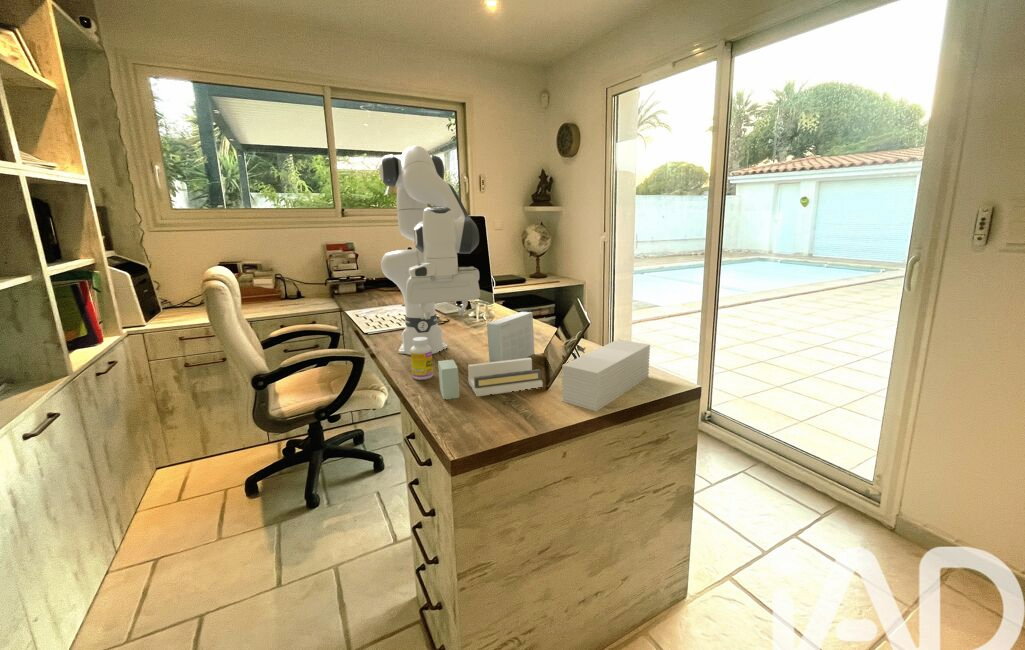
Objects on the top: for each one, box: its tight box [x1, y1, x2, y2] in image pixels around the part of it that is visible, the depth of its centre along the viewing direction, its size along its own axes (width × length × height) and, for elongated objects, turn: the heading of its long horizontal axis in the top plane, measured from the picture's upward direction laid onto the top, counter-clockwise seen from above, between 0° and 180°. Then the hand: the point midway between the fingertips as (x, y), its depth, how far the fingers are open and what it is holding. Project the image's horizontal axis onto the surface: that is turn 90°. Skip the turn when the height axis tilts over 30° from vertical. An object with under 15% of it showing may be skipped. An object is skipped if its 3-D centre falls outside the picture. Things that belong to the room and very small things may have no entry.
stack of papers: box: [561, 339, 651, 412], centre depth 128 cm, size 32×11×11 cm, turn 139°
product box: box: [437, 359, 460, 400], centre depth 127 cm, size 8×5×9 cm, turn 17°
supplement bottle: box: [410, 337, 434, 381], centre depth 141 cm, size 7×7×13 cm
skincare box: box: [486, 311, 535, 362], centre depth 155 cm, size 21×6×16 cm, turn 144°
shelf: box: [467, 357, 543, 397], centre depth 133 cm, size 12×20×6 cm, turn 107°
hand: (444, 317), depth 123 cm, fingers open, 8 cm apart
